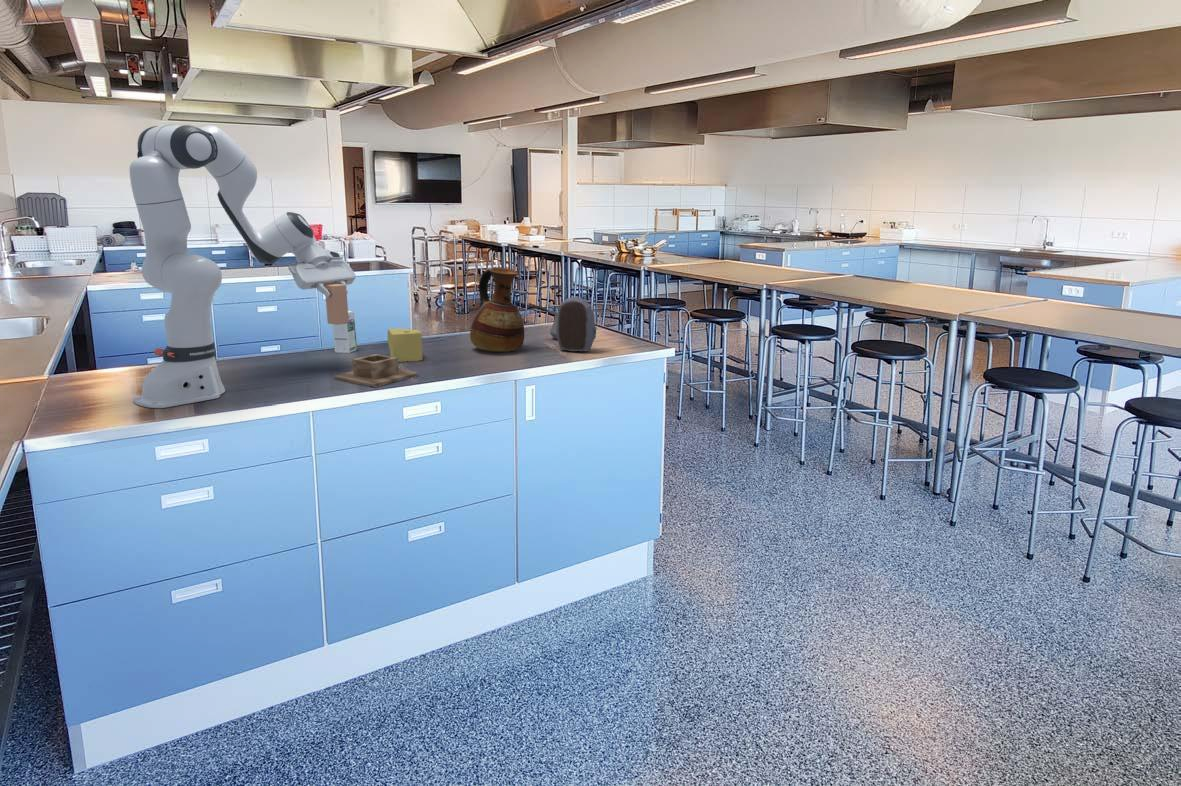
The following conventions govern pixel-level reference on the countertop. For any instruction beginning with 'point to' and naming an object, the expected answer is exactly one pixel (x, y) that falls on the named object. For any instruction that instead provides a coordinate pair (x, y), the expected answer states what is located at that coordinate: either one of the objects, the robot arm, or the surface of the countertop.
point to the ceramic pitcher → (497, 315)
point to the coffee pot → (553, 328)
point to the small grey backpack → (575, 325)
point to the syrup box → (345, 335)
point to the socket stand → (375, 371)
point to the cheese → (405, 344)
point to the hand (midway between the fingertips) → (337, 295)
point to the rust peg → (337, 304)
